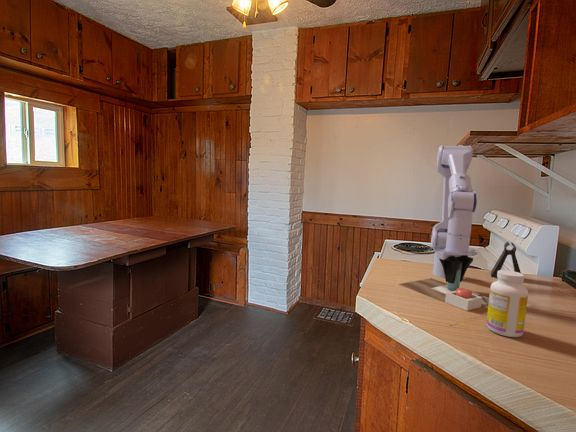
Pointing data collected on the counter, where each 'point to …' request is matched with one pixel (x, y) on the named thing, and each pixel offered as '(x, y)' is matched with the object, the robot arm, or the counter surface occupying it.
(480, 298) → the button housing
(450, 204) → the robot arm
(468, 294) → the button
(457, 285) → the marker
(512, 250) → the black spring clamp
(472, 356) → the counter surface
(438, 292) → the drawing board
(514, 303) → the supplement bottle
